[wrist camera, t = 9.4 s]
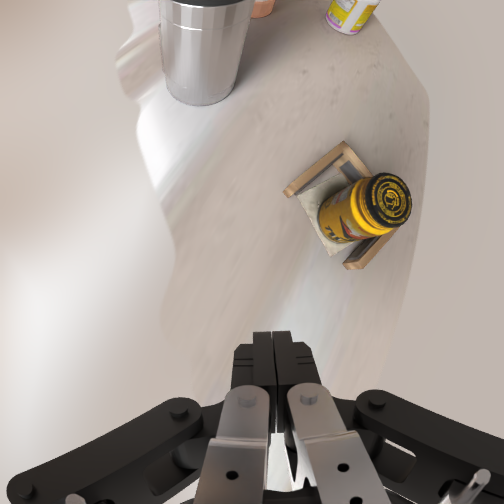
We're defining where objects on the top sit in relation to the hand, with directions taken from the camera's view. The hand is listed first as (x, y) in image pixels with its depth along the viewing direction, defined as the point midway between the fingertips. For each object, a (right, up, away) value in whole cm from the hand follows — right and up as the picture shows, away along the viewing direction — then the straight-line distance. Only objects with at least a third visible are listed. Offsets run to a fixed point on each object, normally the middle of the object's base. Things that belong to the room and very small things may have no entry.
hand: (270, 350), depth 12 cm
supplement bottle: (+15, +44, +29) cm, 55 cm away
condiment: (+10, +9, +25) cm, 29 cm away
